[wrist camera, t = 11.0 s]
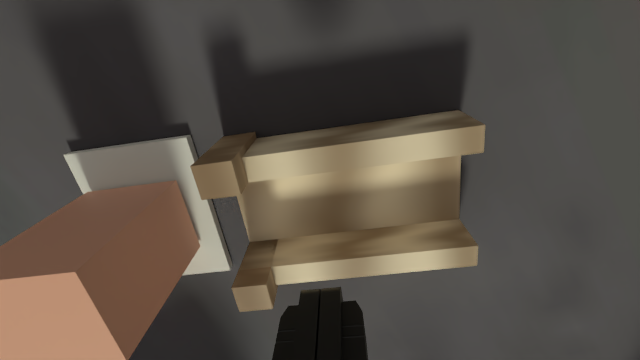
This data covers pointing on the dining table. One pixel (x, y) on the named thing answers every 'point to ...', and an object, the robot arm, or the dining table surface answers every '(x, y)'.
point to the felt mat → (153, 167)
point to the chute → (345, 200)
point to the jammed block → (94, 274)
